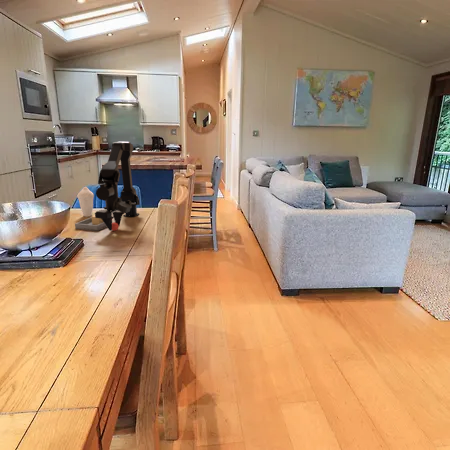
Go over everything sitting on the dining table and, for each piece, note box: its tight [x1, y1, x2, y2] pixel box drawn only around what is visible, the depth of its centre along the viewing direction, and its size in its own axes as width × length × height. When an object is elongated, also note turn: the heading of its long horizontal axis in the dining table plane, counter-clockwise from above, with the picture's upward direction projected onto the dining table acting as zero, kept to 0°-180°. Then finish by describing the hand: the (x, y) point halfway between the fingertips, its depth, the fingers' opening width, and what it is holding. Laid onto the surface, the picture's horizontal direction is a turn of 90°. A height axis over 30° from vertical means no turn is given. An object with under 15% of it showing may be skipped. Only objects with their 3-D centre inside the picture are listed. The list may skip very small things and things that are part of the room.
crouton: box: [90, 214, 103, 225], centre depth 153 cm, size 4×4×4 cm
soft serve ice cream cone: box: [76, 186, 95, 218], centre depth 168 cm, size 8×8×16 cm
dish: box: [74, 216, 107, 232], centre depth 151 cm, size 12×12×2 cm
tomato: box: [111, 221, 120, 232], centre depth 145 cm, size 4×4×4 cm
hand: (114, 228), depth 145 cm, fingers open, 6 cm apart
